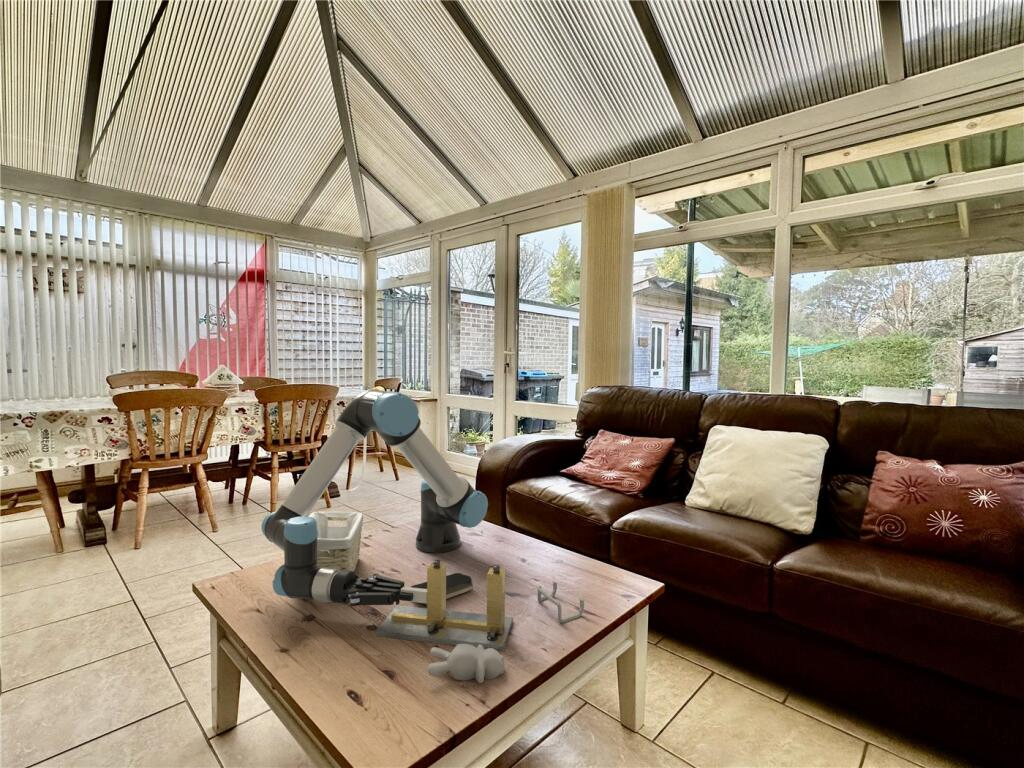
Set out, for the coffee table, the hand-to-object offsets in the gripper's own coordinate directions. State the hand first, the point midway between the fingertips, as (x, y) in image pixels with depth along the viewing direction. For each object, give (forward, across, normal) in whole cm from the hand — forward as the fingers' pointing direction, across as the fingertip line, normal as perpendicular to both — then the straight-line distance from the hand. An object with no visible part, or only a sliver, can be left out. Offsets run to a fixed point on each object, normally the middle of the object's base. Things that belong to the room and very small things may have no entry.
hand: (427, 596), depth 116 cm
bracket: (+30, -16, -8) cm, 35 cm away
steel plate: (+5, -1, -8) cm, 9 cm away
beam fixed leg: (+5, 0, -7) cm, 8 cm away
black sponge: (-2, -17, -8) cm, 19 cm away
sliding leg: (+2, 0, -6) cm, 7 cm away
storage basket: (-39, -22, -8) cm, 46 cm away
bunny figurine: (+14, +14, -8) cm, 21 cm away
